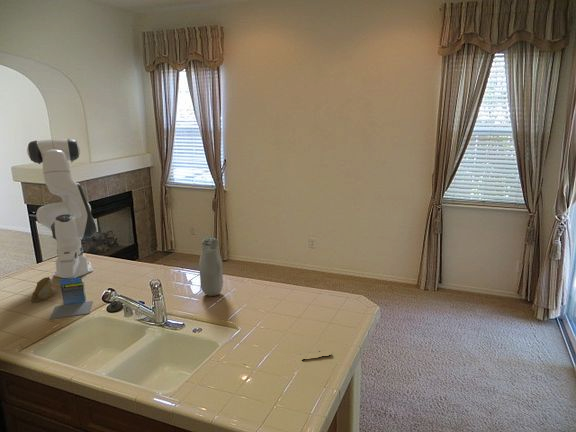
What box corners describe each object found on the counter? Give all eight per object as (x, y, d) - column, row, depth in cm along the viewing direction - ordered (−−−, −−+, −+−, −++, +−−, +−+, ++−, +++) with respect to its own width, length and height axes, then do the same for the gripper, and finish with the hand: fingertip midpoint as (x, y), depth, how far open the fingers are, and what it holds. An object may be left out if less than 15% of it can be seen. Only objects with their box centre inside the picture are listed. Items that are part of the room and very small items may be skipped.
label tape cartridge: (86, 298, 189) (83, 273, 186) (85, 302, 185) (81, 277, 182) (64, 301, 186) (61, 276, 183) (63, 305, 183) (59, 279, 180)
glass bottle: (197, 297, 190) (193, 239, 183) (209, 288, 199) (206, 233, 192) (215, 300, 186) (212, 241, 179) (227, 291, 195) (224, 235, 188)
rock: (31, 301, 181) (56, 292, 187) (24, 284, 183) (49, 275, 189) (32, 307, 190) (55, 298, 196) (25, 291, 192) (49, 282, 197)
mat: (55, 306, 181) (55, 306, 181) (92, 301, 186) (92, 301, 186) (49, 319, 170) (49, 318, 170) (89, 313, 175) (89, 312, 175)
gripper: (65, 245, 192) (69, 273, 195) (57, 259, 173) (61, 289, 176) (80, 243, 194) (84, 271, 197) (73, 257, 175) (77, 287, 178)
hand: (73, 280), depth 186 cm, fingers closed
